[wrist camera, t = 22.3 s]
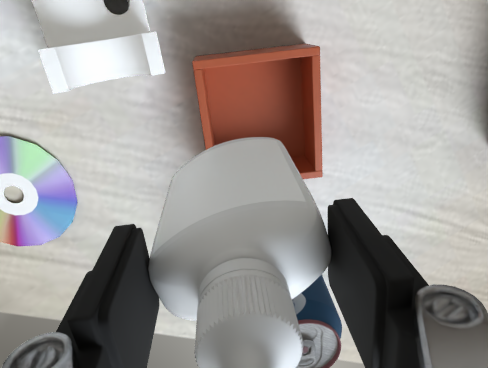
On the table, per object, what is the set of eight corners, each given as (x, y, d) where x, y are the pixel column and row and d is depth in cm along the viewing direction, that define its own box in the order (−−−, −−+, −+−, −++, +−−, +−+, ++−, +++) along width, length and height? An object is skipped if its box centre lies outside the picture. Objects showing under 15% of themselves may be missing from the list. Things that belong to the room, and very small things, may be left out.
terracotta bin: (195, 56, 30) (192, 61, 26) (305, 43, 31) (319, 46, 26) (212, 170, 34) (211, 190, 30) (309, 158, 35) (322, 177, 30)
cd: (-77, 148, 32) (-78, 149, 32) (49, 124, 32) (49, 124, 32) (-18, 255, 36) (-18, 256, 36) (94, 234, 36) (93, 234, 36)
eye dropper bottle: (177, 121, 17) (101, 313, 6) (297, 139, 17) (437, 338, 6) (169, 207, 18) (98, 483, 7) (279, 220, 19) (364, 488, 8)
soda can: (243, 236, 38) (254, 323, 26) (310, 226, 38) (349, 310, 27) (250, 290, 40) (263, 389, 29) (313, 281, 40) (349, 377, 29)
